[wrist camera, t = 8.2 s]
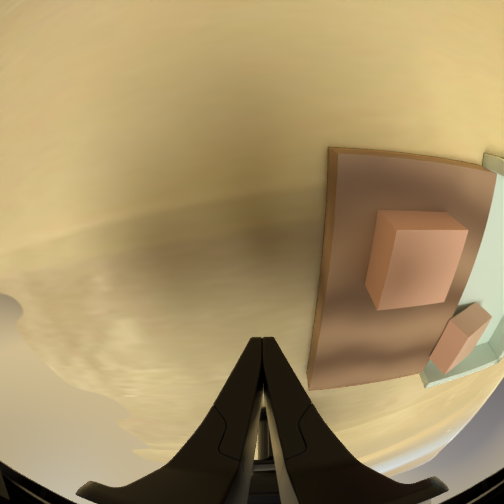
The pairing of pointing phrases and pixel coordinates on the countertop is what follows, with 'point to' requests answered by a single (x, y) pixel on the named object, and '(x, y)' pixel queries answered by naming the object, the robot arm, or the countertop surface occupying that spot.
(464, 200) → the walnut board
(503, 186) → the sage tray
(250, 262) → the countertop surface
